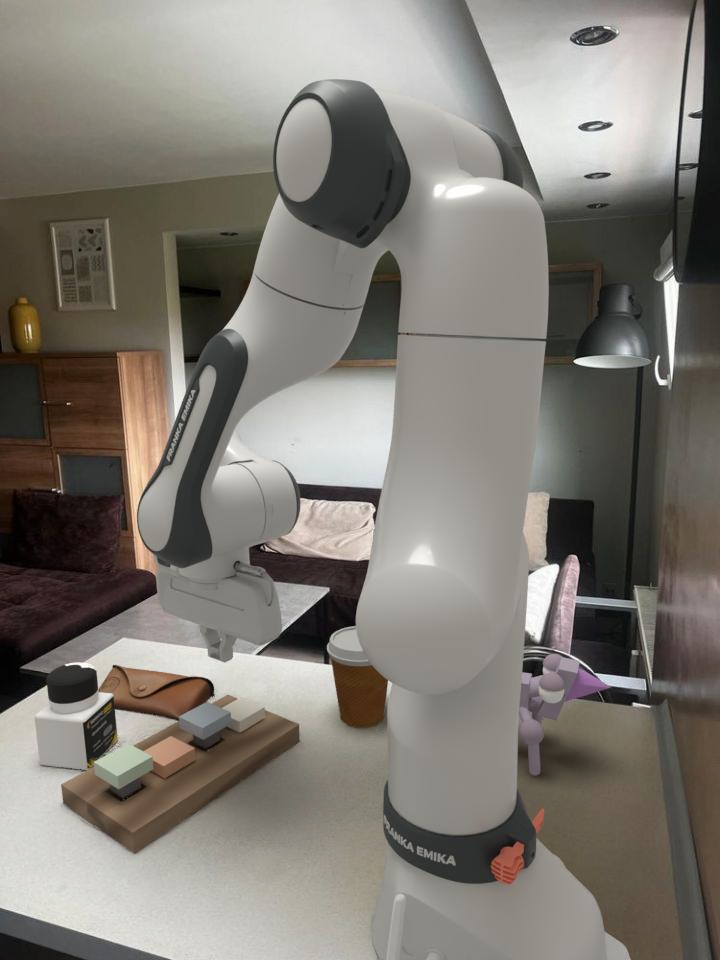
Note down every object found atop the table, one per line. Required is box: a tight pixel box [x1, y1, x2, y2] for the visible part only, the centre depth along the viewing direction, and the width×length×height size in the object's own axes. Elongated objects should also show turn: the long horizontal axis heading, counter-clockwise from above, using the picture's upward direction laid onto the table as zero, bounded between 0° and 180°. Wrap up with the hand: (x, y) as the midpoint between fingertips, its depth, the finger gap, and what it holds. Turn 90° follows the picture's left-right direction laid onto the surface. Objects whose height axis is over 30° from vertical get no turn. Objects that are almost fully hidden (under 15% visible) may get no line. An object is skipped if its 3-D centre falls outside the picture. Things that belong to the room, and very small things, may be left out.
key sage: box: [93, 743, 153, 798], centre depth 80 cm, size 5×5×4 cm
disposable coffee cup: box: [326, 625, 389, 728], centre depth 99 cm, size 10×10×12 cm
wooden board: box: [60, 694, 301, 854], centre depth 88 cm, size 14×26×2 cm, turn 143°
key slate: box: [178, 701, 231, 749], centre depth 89 cm, size 5×5×4 cm
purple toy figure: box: [518, 653, 612, 776], centre depth 89 cm, size 20×11×14 cm, turn 69°
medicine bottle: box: [34, 661, 119, 771], centre depth 91 cm, size 7×7×12 cm
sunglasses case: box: [98, 664, 215, 721], centre depth 106 cm, size 18×7×7 cm, turn 74°
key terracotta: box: [143, 736, 196, 778], centre depth 85 cm, size 5×5×4 cm
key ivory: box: [222, 697, 266, 733], centre depth 94 cm, size 5×5×4 cm
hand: (220, 658), depth 90 cm, fingers closed
